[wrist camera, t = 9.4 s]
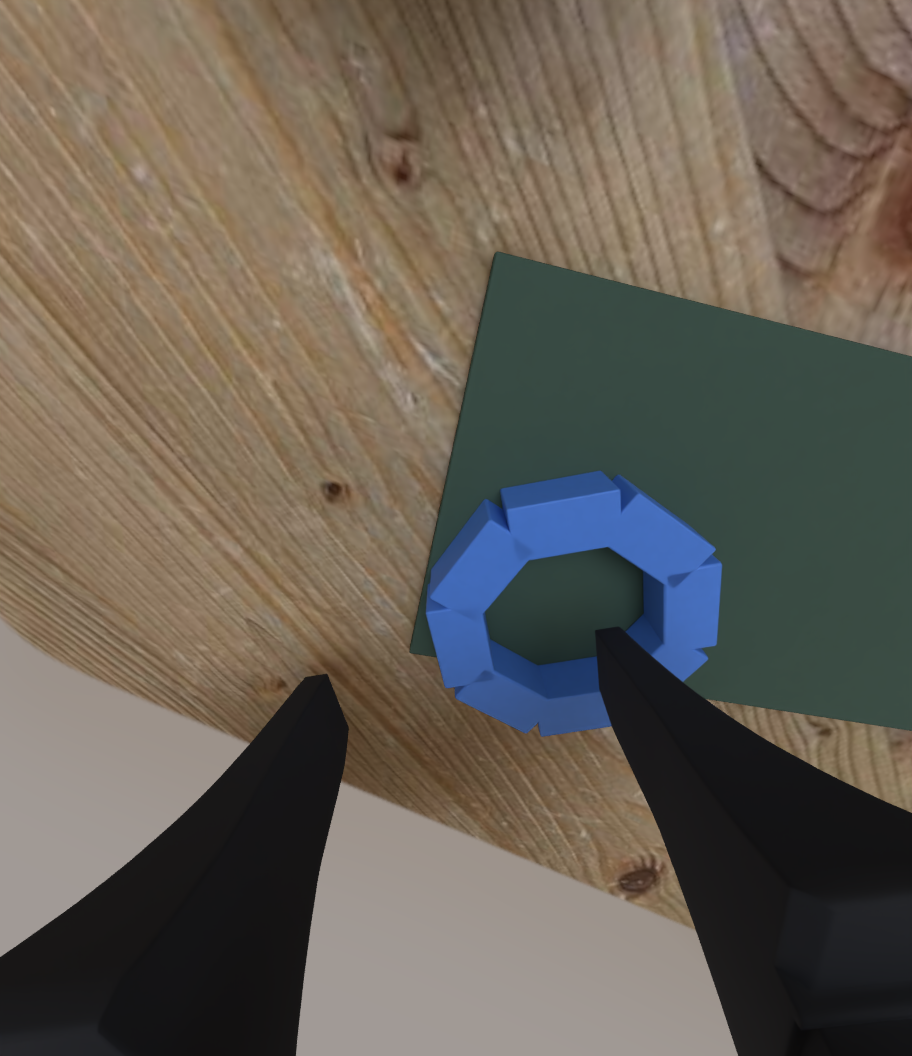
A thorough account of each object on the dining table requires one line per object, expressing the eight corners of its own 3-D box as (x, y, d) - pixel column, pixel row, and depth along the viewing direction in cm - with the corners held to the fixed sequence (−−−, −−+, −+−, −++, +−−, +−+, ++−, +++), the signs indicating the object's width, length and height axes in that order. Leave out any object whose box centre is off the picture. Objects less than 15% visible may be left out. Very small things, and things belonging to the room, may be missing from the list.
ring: (459, 711, 17) (460, 749, 15) (407, 504, 13) (403, 528, 12) (689, 676, 16) (713, 712, 15) (698, 452, 13) (730, 469, 11)
